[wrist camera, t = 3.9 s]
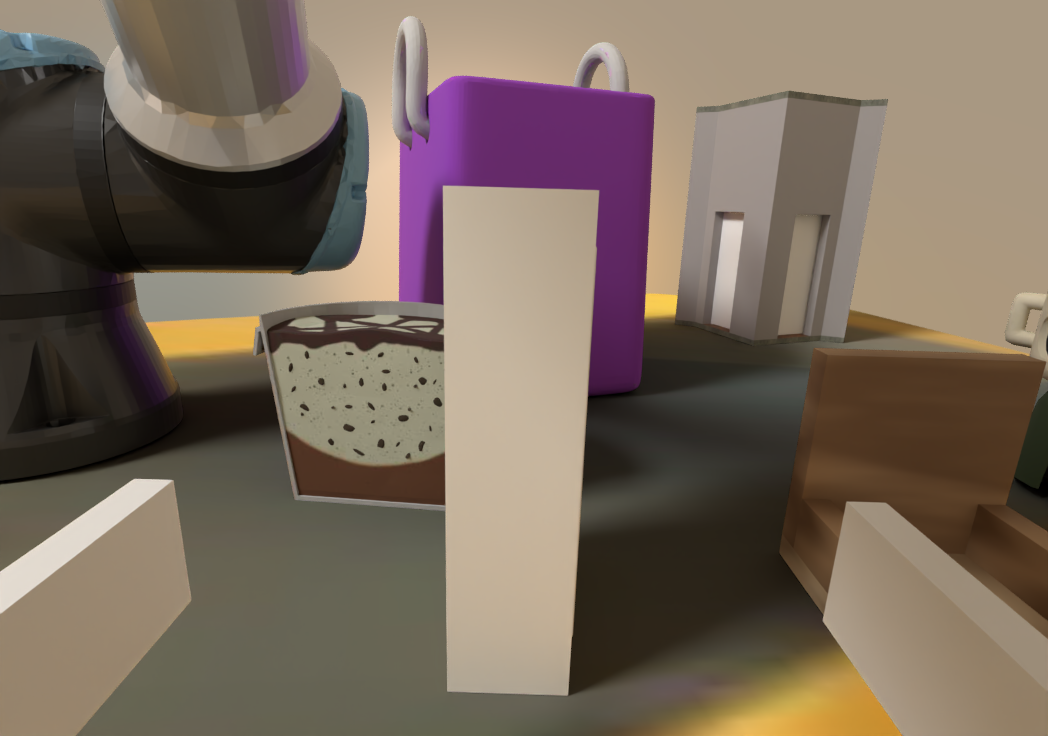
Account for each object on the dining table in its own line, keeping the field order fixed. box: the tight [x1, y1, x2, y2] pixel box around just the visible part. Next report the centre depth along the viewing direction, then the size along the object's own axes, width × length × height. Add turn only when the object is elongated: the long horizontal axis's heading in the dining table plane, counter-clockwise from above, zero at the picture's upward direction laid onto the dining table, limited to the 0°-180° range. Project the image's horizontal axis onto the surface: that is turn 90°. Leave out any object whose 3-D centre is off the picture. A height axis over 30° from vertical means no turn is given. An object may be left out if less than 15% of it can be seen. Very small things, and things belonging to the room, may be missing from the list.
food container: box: [253, 301, 446, 511], centre depth 32 cm, size 12×6×10 cm, turn 85°
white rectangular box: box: [443, 186, 599, 696], centre depth 21 cm, size 8×4×16 cm, turn 179°
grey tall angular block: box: [675, 91, 888, 346], centre depth 70 cm, size 21×10×28 cm, turn 64°
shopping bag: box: [392, 16, 655, 396], centre depth 55 cm, size 28×22×30 cm
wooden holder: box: [779, 348, 1048, 639], centre depth 19 cm, size 14×9×10 cm, turn 179°
